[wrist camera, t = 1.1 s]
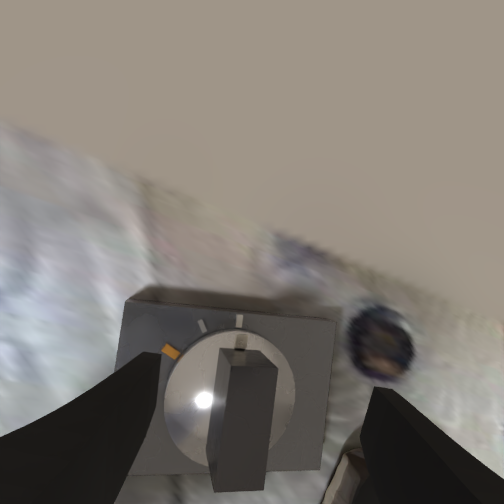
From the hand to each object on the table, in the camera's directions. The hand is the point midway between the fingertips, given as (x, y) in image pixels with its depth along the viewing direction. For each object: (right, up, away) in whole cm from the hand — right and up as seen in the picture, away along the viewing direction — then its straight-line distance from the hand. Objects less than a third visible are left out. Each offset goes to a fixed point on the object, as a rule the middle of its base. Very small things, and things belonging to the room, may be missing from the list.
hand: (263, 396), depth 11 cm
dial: (-2, -4, +10) cm, 11 cm away
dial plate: (-2, -4, +11) cm, 12 cm away
